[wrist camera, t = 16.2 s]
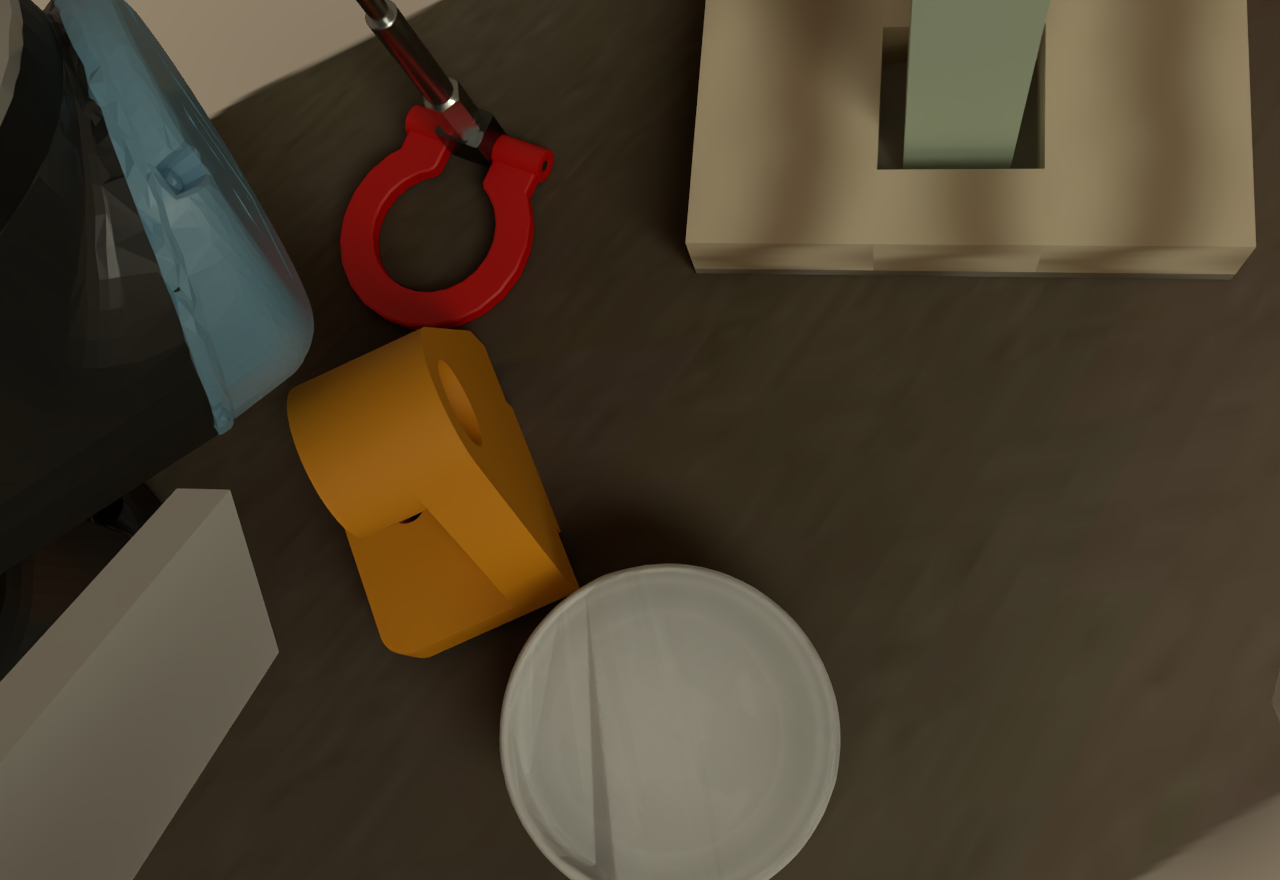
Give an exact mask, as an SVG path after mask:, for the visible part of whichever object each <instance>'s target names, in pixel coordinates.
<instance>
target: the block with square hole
mask: <svg viewBox="0 0 1280 880" xmlns="http://www.w3.org/2000/svg"><path fill="white" fill-rule="evenodd" d="M910 2H911V0H706V4H705V16H704V28H703V40H702V52H701V63H700V75H699V87H698V99H697V111H696V123H695V135H694V147H693V159H692V171H691V182H690V194H689V206H688V218H687V230H686V242H685V243H686V246H687V249H688V251H689V254H690V257H691V260H692V263H693V265H694V268H695V271H696V273H718V274H803V275H887V276H972V277H1057V278H1141V279H1226V280H1231V279H1232V278H1233V276H1234V275H1235V274H1236V272H1237V271H1238V270H1239V269H1240V267H1241V266H1242V265H1243V263H1244V262H1245V261H1246V259H1247V258H1248V257H1249V255H1250V254H1251V253H1252V251H1253V250H1254V249H1255V247H1256V235H1255V209H1254V183H1253V157H1252V130H1251V104H1250V78H1249V52H1248V26H1247V0H1050V3H1049V8H1048V12H1047V16H1046V20H1045V24H1044V29H1043V33H1042V37H1041V41H1040V45H1039V50H1038V54H1037V58H1036V62H1035V66H1034V71H1033V75H1032V79H1031V83H1030V87H1029V92H1028V96H1027V100H1026V104H1025V108H1024V113H1023V117H1022V121H1021V125H1020V129H1019V134H1018V138H1017V142H1016V146H1015V150H1014V155H1013V159H1012V163H1011V167H1010V169H903V153H904V126H905V100H906V77H907V58H908V40H909V21H910Z"/></svg>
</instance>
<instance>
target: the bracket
mask: <svg viewBox="0 0 1280 880" xmlns="http://www.w3.org/2000/svg"><path fill="white" fill-rule="evenodd" d="M287 414H288V421H289V426H290V430H291V433H292V437H293V440H294V443H295V446H296V449H297V452H298V454H299V457H300V459H301V461H302V464H303V466H304V468H305V470H306V472H307V474H308V476H309V478H310V480H311V482H312V484H313V486H314V488H315V489H316V491H317V493H318V494H319V496H320V498H321V499H322V501H323V502H324V504H325V505H326V507H327V508H328V510H329V511H330V512H331V514H332V515H333V516H334V517H335V518H336V520H337V521H338V522H339V523H340V524H341V525H342V526H343V527H344V529H345V532H346V535H347V538H348V541H349V544H350V547H351V550H352V553H353V556H354V559H355V562H356V565H357V568H358V571H359V574H360V577H361V580H362V583H363V585H364V588H365V591H366V594H367V597H368V600H369V603H370V606H371V609H372V612H373V615H374V618H375V621H376V624H377V627H378V630H379V633H380V636H381V639H382V641H383V643H384V644H385V646H386V647H387V648H388V649H390V650H391V651H393V652H395V653H398V654H403V655H408V656H412V657H417V658H427V657H431V656H433V655H436V654H438V653H440V652H442V651H445V650H447V649H449V648H451V647H454V646H456V645H458V644H460V643H463V642H465V641H467V640H469V639H472V638H474V637H476V636H478V635H480V634H483V633H485V632H487V631H489V630H492V629H494V628H496V627H498V626H501V625H503V624H505V623H507V622H510V621H512V620H514V619H516V618H519V617H521V616H523V615H525V614H528V613H530V612H532V611H534V610H537V609H539V608H541V607H543V606H546V605H548V604H550V603H552V602H555V601H557V600H559V599H561V598H564V597H566V596H568V595H570V594H572V593H574V592H575V591H577V590H578V589H580V588H579V585H578V582H577V580H576V577H575V575H574V572H573V570H572V567H571V565H570V562H569V560H568V557H567V555H566V552H565V549H564V547H563V544H562V542H561V539H560V537H559V534H558V533H560V532H561V530H560V528H559V525H558V523H557V520H556V518H555V515H554V513H553V510H552V508H551V505H550V502H549V500H548V497H547V495H546V492H545V490H544V487H543V485H542V482H541V480H540V477H539V475H538V472H537V469H536V467H535V464H534V462H533V459H532V457H531V454H530V452H529V449H528V447H527V444H526V442H525V439H524V437H523V434H522V431H521V429H520V426H519V424H518V421H517V419H516V416H515V414H514V411H513V409H512V407H511V406H510V405H509V404H508V403H507V402H506V399H505V397H504V394H503V392H502V389H501V387H500V384H499V382H498V379H497V377H496V374H495V371H494V369H493V366H492V364H491V361H490V359H489V356H488V354H487V351H486V349H485V346H484V345H483V344H482V343H481V342H480V341H479V340H478V339H477V338H476V337H475V336H474V335H473V333H472V332H471V331H467V330H455V329H443V328H431V327H423V328H421V329H418V330H416V331H414V332H412V333H410V334H408V335H406V336H403V337H401V338H399V339H397V340H395V341H393V342H390V343H388V344H386V345H384V346H382V347H380V348H378V349H375V350H373V351H371V352H369V353H367V354H365V355H363V356H360V357H358V358H356V359H354V360H352V361H350V362H347V363H345V364H343V365H341V366H339V367H337V368H335V369H332V370H330V371H328V372H326V373H324V374H322V375H320V376H317V377H315V378H313V379H311V380H309V381H307V382H304V383H302V384H300V385H298V386H296V387H294V388H292V389H291V390H290V392H289V394H288V397H287ZM421 512H422V513H421ZM418 513H421V515H420V516H419V517H418V518H417V519H416V520H414V521H413V522H411V517H412V516H414V515H416V514H418Z"/></svg>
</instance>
